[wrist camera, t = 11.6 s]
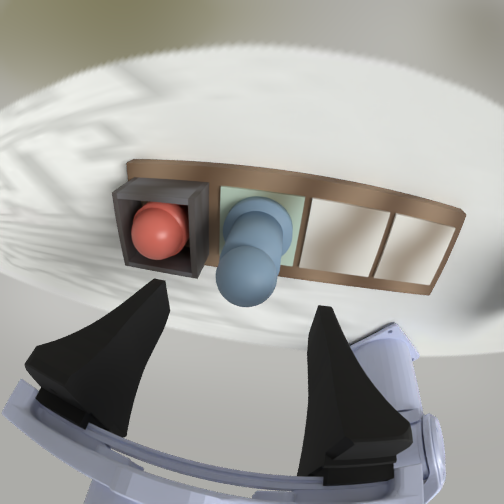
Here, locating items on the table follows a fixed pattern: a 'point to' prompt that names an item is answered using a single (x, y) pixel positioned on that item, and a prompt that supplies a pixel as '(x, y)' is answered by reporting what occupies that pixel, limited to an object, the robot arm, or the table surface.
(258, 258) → the pawn
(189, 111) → the table surface
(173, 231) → the dome
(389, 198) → the game board
